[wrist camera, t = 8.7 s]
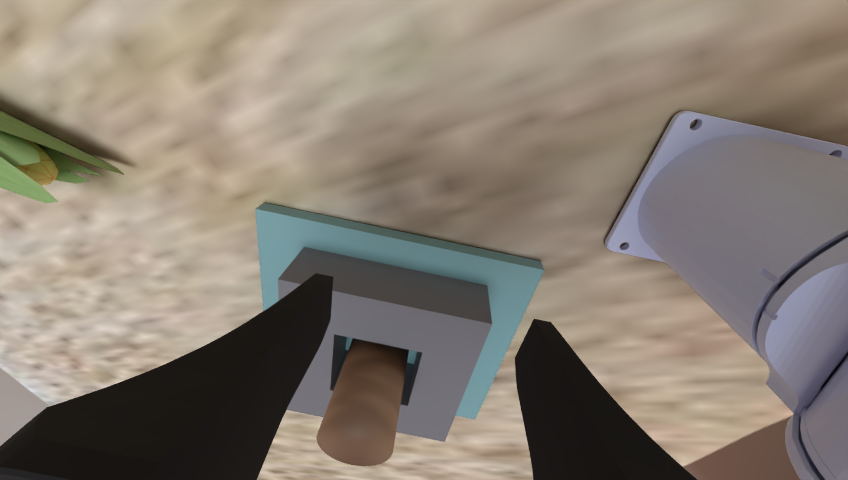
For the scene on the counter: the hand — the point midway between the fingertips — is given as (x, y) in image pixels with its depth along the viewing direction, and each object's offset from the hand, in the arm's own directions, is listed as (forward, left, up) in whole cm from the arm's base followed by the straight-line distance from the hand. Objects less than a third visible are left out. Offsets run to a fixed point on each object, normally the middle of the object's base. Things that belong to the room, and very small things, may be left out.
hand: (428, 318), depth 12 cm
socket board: (+2, +10, -9) cm, 14 cm away
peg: (+2, +10, -8) cm, 13 cm away
